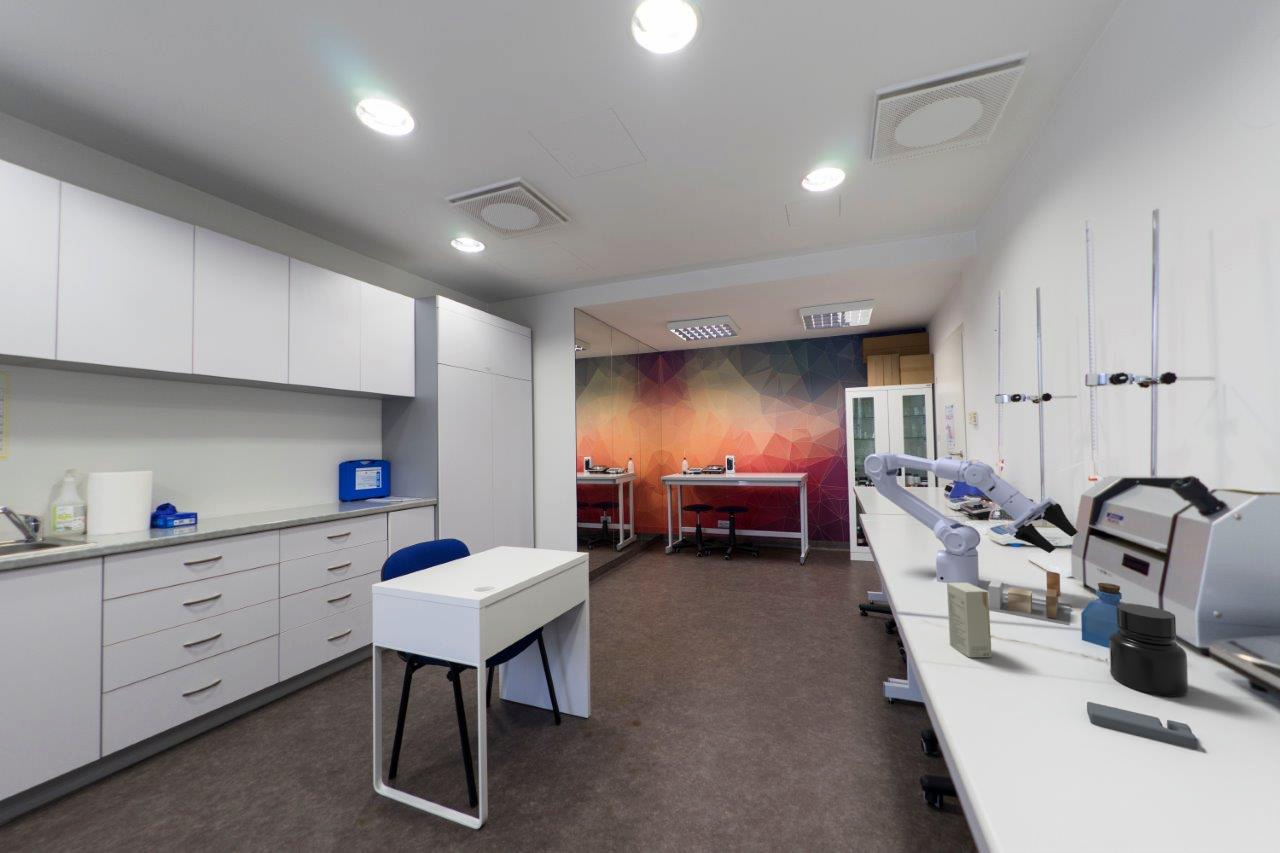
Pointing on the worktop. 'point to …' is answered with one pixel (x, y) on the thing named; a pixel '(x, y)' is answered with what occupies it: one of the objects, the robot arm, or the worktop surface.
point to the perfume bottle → (1101, 615)
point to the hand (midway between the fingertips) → (1063, 542)
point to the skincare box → (969, 619)
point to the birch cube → (1020, 600)
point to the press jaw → (1052, 594)
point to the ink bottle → (1148, 651)
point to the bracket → (1141, 725)
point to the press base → (1000, 604)
